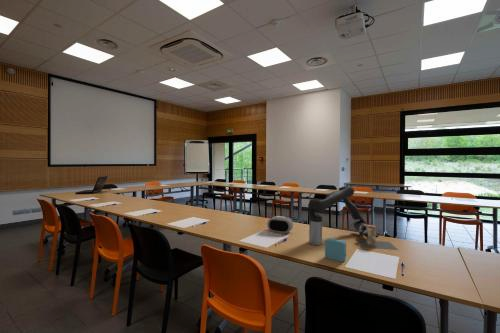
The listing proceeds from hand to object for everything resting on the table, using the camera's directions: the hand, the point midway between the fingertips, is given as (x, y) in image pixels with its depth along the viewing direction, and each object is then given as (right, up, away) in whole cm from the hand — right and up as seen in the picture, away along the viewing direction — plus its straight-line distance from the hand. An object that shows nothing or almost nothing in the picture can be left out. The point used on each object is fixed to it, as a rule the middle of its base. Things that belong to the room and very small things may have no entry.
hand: (371, 236), depth 180 cm
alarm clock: (-63, -6, +34) cm, 72 cm away
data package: (-35, -8, -24) cm, 43 cm away
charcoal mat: (+4, -8, +3) cm, 9 cm away
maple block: (0, -7, +2) cm, 7 cm away
